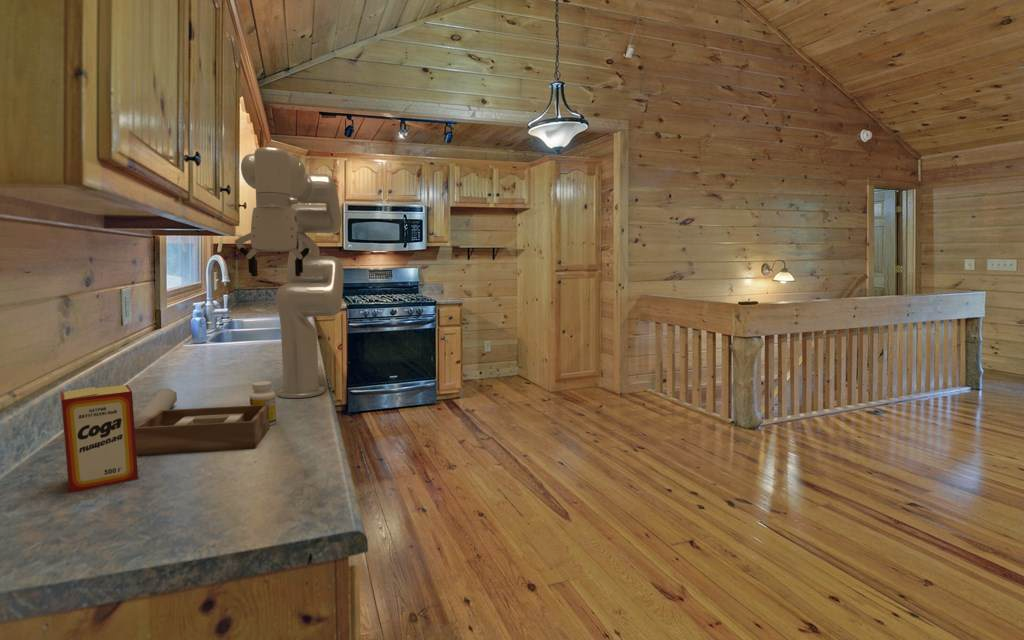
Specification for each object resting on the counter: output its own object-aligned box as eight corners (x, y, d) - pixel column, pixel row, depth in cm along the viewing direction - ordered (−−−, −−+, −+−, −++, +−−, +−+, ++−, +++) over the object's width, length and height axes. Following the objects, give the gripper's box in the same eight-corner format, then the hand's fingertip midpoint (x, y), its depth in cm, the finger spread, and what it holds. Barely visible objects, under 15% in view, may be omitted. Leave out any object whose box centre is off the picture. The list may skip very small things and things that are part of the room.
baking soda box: (133, 468, 103) (127, 382, 102) (138, 478, 98) (131, 389, 97) (67, 481, 97) (60, 390, 96) (69, 493, 92) (61, 397, 91)
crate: (162, 434, 123) (160, 410, 123) (269, 428, 128) (268, 404, 127) (133, 456, 110) (131, 428, 109) (255, 448, 114) (253, 422, 114)
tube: (162, 415, 125) (180, 390, 148) (134, 410, 123) (157, 385, 146) (154, 438, 125) (173, 409, 148) (127, 433, 123) (150, 405, 146)
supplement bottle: (246, 425, 130) (244, 383, 129) (267, 419, 135) (265, 379, 134) (260, 428, 128) (258, 386, 126) (281, 423, 132) (279, 382, 131)
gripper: (314, 205, 137) (316, 276, 138) (237, 203, 133) (240, 276, 134) (310, 201, 130) (313, 276, 131) (229, 199, 126) (232, 276, 127)
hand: (276, 276), depth 133 cm, fingers open, 9 cm apart
